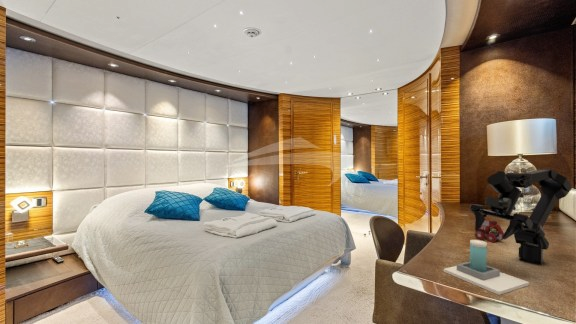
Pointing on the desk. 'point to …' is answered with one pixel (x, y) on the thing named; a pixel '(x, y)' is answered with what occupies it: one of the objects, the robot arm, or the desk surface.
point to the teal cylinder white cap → (478, 255)
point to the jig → (487, 278)
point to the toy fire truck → (485, 230)
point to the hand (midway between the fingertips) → (489, 234)
